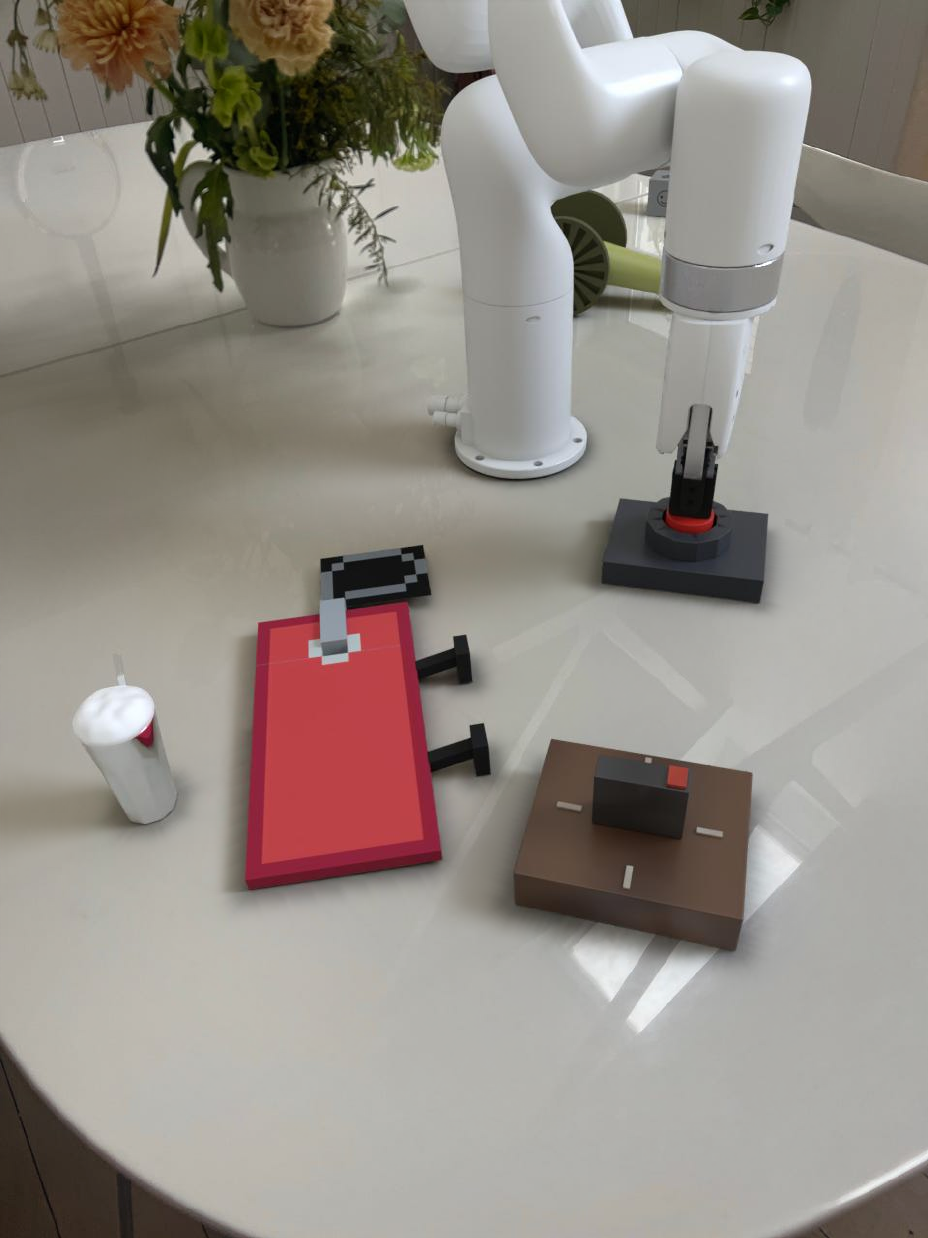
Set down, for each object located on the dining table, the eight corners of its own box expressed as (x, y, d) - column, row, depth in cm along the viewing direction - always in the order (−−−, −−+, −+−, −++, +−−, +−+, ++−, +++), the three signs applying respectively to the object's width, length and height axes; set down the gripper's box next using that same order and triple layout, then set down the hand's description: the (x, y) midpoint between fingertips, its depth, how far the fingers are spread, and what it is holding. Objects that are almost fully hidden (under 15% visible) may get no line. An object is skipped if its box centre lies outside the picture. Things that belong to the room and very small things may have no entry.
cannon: (728, 291, 117) (741, 194, 109) (716, 330, 108) (728, 228, 101) (533, 277, 124) (532, 185, 116) (507, 313, 115) (504, 216, 108)
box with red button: (591, 822, 53) (594, 773, 50) (596, 800, 54) (598, 751, 51) (682, 839, 52) (689, 789, 49) (684, 816, 53) (692, 766, 50)
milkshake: (196, 764, 62) (155, 651, 55) (180, 831, 58) (134, 717, 51) (127, 768, 62) (78, 656, 55) (106, 835, 58) (51, 722, 51)
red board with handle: (446, 550, 78) (264, 575, 77) (443, 522, 76) (257, 548, 75) (506, 854, 55) (250, 894, 54) (504, 825, 53) (239, 866, 53)
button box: (601, 583, 74) (603, 542, 71) (618, 519, 81) (620, 479, 78) (759, 603, 71) (767, 561, 69) (764, 535, 78) (772, 494, 75)
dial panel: (514, 904, 53) (513, 871, 51) (550, 770, 60) (550, 736, 58) (735, 952, 50) (744, 918, 48) (745, 804, 57) (753, 770, 55)
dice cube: (646, 215, 140) (649, 179, 137) (655, 204, 143) (657, 169, 140) (680, 217, 138) (683, 181, 135) (687, 207, 142) (691, 171, 138)
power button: (662, 541, 73) (664, 522, 72) (667, 515, 76) (669, 497, 75) (709, 546, 72) (712, 527, 71) (713, 520, 75) (716, 501, 74)
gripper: (673, 233, 67) (653, 457, 79) (646, 319, 57) (627, 563, 68) (783, 238, 66) (745, 466, 77) (776, 327, 55) (733, 576, 67)
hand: (690, 511), depth 73 cm, fingers closed
